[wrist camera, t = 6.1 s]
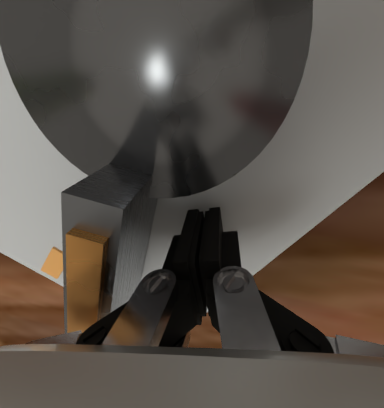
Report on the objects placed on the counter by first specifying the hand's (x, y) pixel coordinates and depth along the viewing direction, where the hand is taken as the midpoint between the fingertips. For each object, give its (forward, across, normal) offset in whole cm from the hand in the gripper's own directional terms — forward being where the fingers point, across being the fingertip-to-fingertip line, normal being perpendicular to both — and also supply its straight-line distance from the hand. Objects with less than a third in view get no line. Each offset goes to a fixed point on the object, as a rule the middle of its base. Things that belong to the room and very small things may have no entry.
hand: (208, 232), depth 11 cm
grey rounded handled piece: (0, +2, -4) cm, 5 cm away
